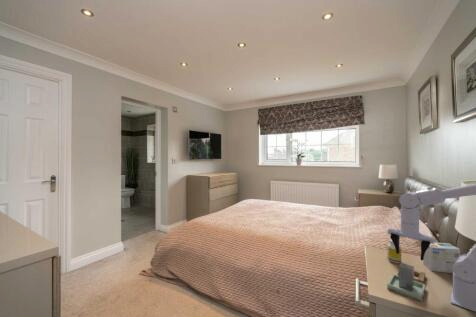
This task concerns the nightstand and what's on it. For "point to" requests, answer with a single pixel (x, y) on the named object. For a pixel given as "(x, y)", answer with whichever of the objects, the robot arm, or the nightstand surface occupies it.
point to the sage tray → (415, 294)
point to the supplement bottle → (393, 253)
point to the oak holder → (421, 276)
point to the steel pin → (406, 277)
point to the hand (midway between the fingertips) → (409, 255)
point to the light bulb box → (441, 257)
